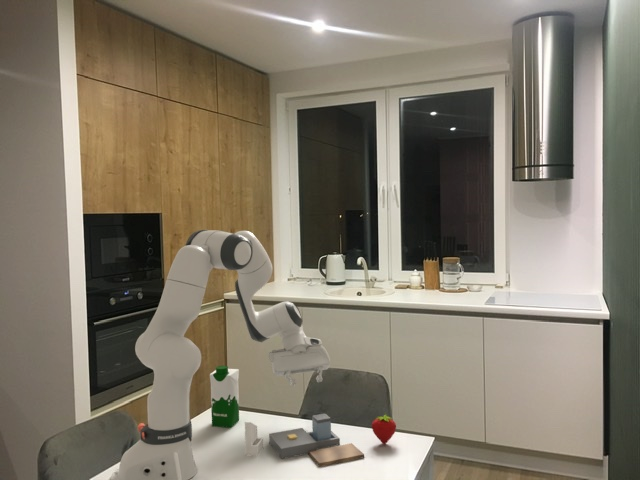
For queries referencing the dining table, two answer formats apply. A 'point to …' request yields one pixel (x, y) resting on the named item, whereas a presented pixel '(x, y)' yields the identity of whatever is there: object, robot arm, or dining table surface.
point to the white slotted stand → (252, 440)
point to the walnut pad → (336, 454)
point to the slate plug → (321, 427)
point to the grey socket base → (298, 442)
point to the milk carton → (224, 397)
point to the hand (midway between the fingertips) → (307, 383)
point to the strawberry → (384, 428)
